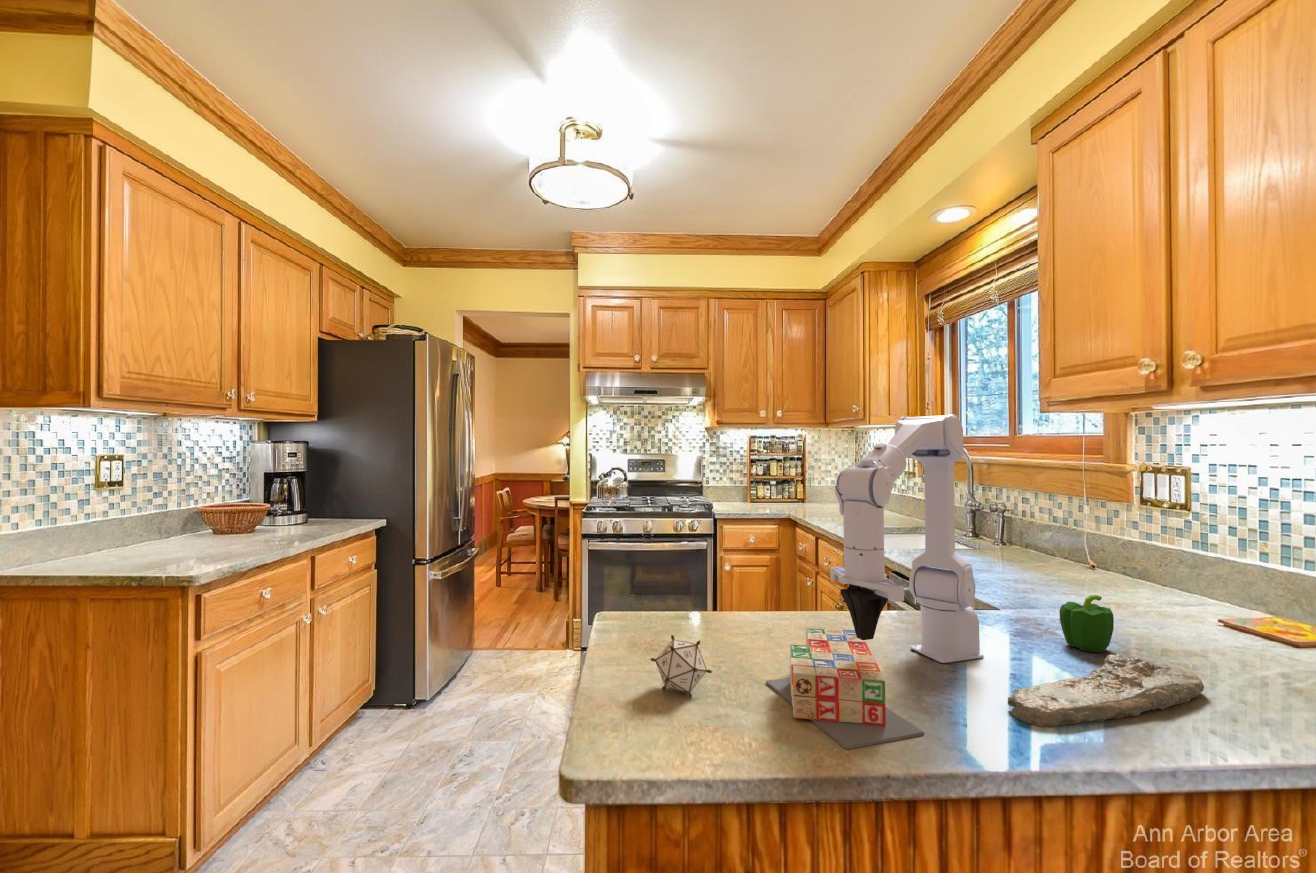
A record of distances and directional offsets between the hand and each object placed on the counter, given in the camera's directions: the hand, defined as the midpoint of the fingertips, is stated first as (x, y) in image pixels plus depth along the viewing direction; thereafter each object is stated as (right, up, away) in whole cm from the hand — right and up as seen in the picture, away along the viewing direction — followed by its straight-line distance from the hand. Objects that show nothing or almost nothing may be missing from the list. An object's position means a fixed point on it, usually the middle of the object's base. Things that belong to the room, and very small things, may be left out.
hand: (865, 638), depth 84 cm
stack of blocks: (+2, -6, +2) cm, 7 cm away
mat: (-5, -9, -2) cm, 11 cm away
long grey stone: (+36, -10, -1) cm, 37 cm away
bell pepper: (+50, -10, +21) cm, 55 cm away
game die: (-27, -10, +4) cm, 29 cm away
